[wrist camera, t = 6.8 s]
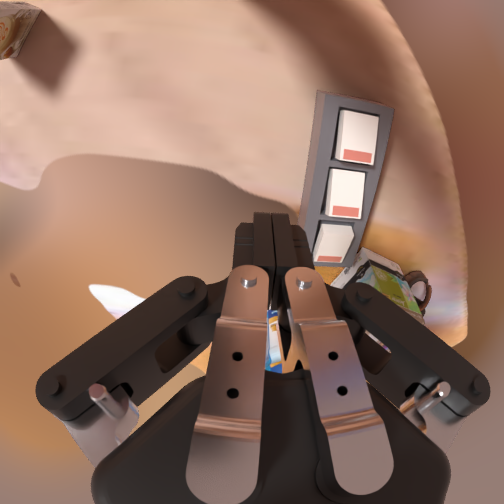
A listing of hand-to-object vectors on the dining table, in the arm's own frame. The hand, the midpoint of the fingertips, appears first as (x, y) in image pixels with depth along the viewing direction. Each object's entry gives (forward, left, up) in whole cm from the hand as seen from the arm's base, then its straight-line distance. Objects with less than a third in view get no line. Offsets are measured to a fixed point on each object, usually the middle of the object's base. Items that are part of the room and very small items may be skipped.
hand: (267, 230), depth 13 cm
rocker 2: (+8, +12, -22) cm, 26 cm away
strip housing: (+8, +12, -27) cm, 30 cm away
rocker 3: (+16, +12, -22) cm, 30 cm away
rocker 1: (0, +12, -22) cm, 25 cm away
